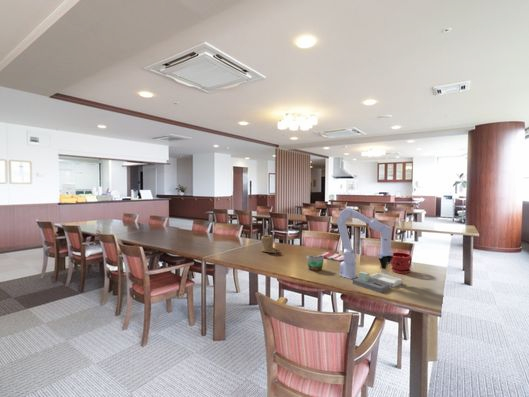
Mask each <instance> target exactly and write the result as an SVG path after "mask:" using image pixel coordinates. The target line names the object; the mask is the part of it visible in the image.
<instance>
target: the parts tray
mask: <svg viewBox="0 0 529 397" xmlns="http://www.w3.org/2000/svg"><path fill="white" fill-rule="evenodd" d="M369 279H371V280H375V281H378V282H381V283H385V284H388V285H389V288H395V287H397V286H400V285H402V284H403V278H399V277H395V276H392V275H389V274H384V273H381V272H377V273H374V274H369Z"/></svg>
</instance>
